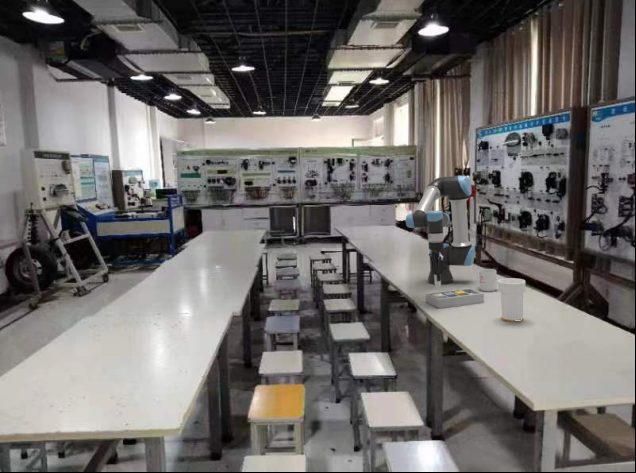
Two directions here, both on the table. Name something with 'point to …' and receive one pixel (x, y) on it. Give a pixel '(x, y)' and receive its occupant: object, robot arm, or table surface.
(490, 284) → the mug
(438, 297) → the key ivory
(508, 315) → the cup
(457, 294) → the key mustard
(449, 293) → the key slate
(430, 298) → the keypad
